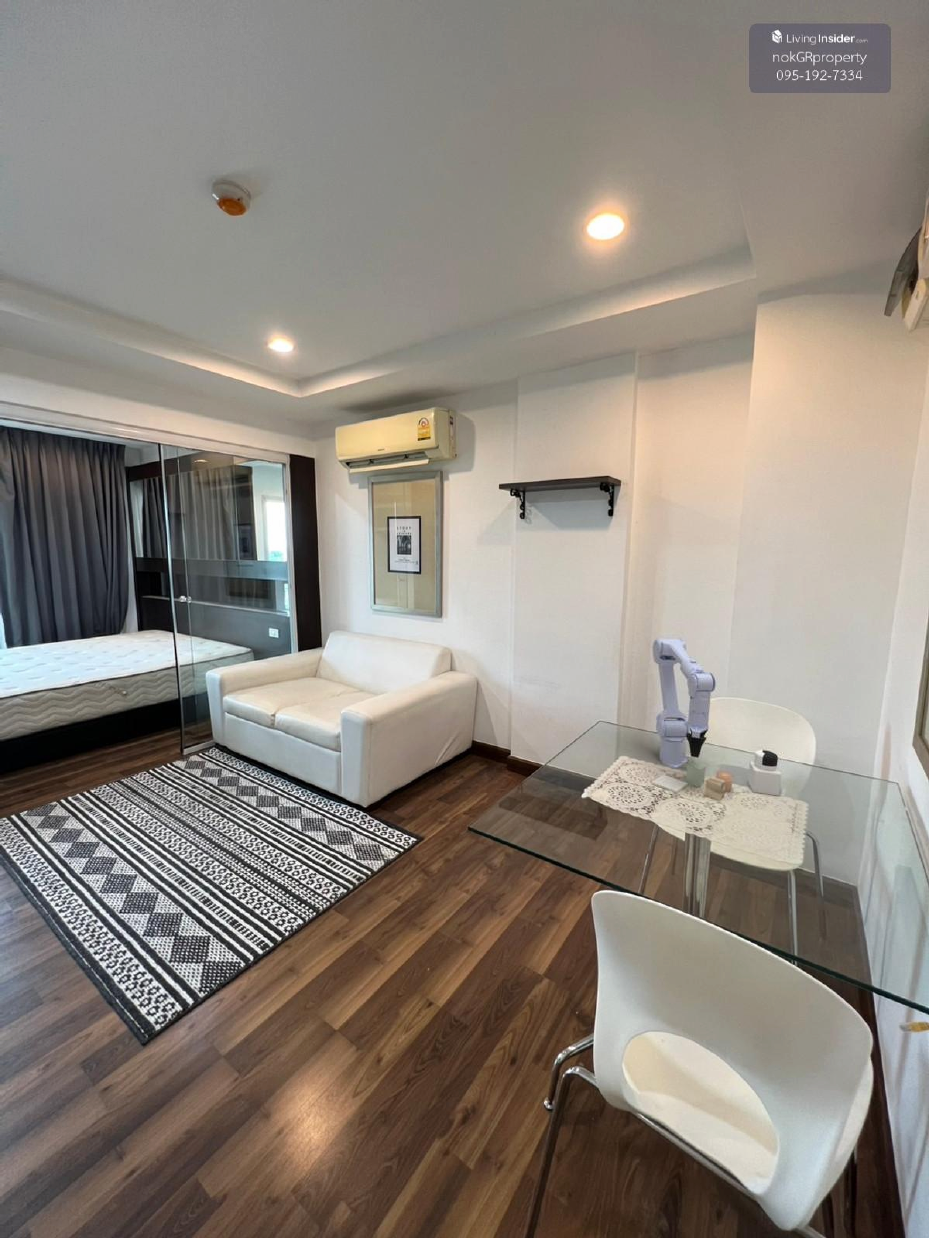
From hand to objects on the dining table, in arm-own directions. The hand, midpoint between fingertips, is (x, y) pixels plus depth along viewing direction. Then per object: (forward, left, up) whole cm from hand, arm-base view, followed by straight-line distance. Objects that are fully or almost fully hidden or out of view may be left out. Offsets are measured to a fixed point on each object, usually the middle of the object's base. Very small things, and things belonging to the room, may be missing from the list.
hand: (695, 752), depth 153 cm
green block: (-1, 0, -10) cm, 10 cm away
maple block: (+3, +8, -11) cm, 14 cm away
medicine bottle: (-13, +16, -11) cm, 23 cm away
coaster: (+6, -5, -10) cm, 13 cm away
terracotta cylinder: (-4, +8, -10) cm, 13 cm away
